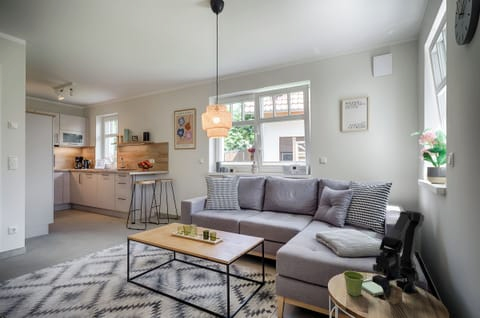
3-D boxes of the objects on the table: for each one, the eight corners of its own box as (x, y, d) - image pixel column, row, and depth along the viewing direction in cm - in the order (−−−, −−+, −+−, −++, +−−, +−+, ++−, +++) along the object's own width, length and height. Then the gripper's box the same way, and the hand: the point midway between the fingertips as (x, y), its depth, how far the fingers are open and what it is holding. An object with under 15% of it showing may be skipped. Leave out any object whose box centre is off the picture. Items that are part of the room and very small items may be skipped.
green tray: (373, 280, 130) (373, 278, 130) (393, 292, 118) (393, 289, 118) (354, 284, 126) (354, 281, 126) (373, 296, 115) (373, 293, 115)
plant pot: (367, 299, 112) (367, 280, 112) (345, 297, 114) (345, 278, 114) (361, 289, 121) (361, 271, 121) (341, 287, 123) (341, 270, 123)
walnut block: (392, 296, 115) (392, 283, 115) (402, 302, 110) (402, 288, 110) (384, 298, 114) (384, 285, 114) (393, 304, 109) (393, 290, 109)
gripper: (392, 254, 122) (393, 285, 122) (362, 258, 117) (363, 291, 117) (414, 263, 112) (414, 297, 112) (382, 268, 106) (382, 304, 106)
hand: (393, 297), depth 112 cm, fingers open, 7 cm apart
